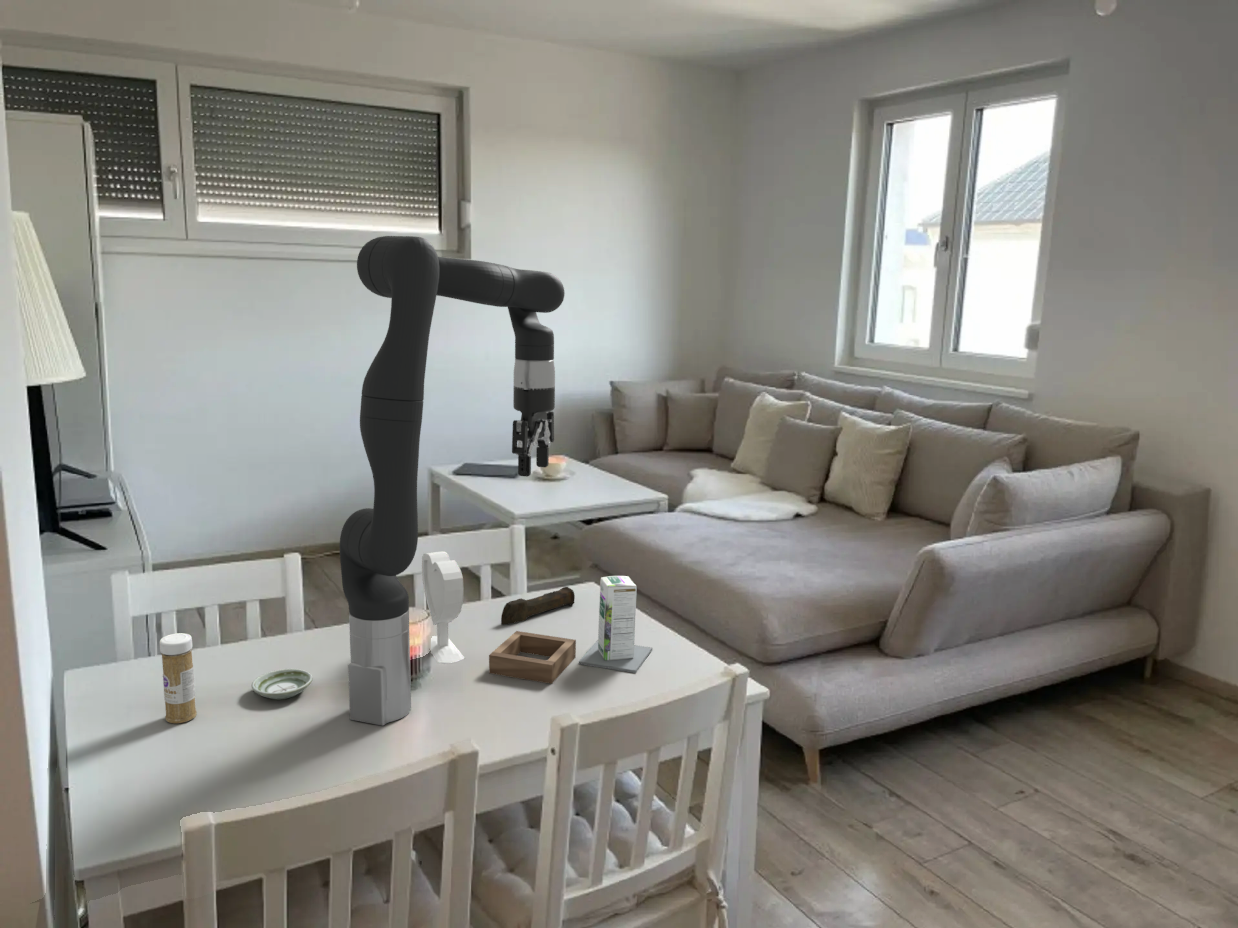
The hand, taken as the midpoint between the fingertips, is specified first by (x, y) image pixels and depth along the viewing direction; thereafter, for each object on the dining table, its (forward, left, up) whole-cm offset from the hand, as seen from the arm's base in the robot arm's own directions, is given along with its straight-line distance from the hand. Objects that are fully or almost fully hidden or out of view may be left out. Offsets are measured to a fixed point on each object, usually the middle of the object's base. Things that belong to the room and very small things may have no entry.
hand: (533, 471), depth 171 cm
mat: (0, -17, -34) cm, 38 cm away
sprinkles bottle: (-47, +40, -34) cm, 71 cm away
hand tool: (+15, +5, -35) cm, 38 cm away
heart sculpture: (-8, +15, -34) cm, 38 cm away
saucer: (-34, +31, -34) cm, 58 cm away
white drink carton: (0, -17, -34) cm, 38 cm away
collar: (-9, -4, -34) cm, 35 cm away
